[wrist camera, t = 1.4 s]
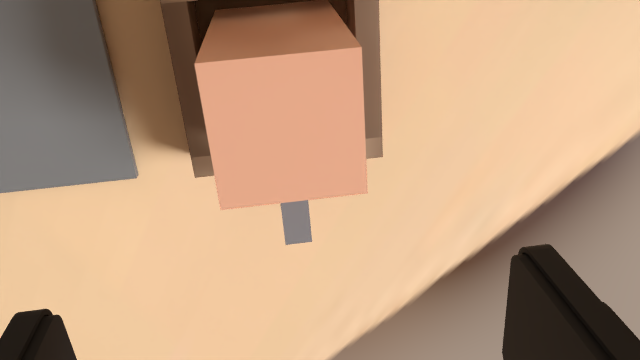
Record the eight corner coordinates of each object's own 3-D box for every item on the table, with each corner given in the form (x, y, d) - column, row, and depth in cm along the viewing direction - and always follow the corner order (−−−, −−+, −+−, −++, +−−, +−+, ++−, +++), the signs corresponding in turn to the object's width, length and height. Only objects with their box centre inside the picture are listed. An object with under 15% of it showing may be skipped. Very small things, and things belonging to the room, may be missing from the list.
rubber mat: (85, -41, 28) (82, -40, 27) (138, 174, 33) (136, 178, 33) (-166, -19, 27) (-173, -18, 27) (-70, 197, 32) (-74, 201, 32)
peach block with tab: (327, -1, 30) (361, 47, 20) (337, 152, 34) (370, 254, 24) (215, 10, 29) (194, 63, 20) (239, 163, 34) (231, 270, 24)
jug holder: (366, -48, 29) (377, -43, 26) (372, 136, 34) (382, 157, 31) (164, -31, 28) (155, -24, 26) (200, 155, 33) (194, 177, 30)
